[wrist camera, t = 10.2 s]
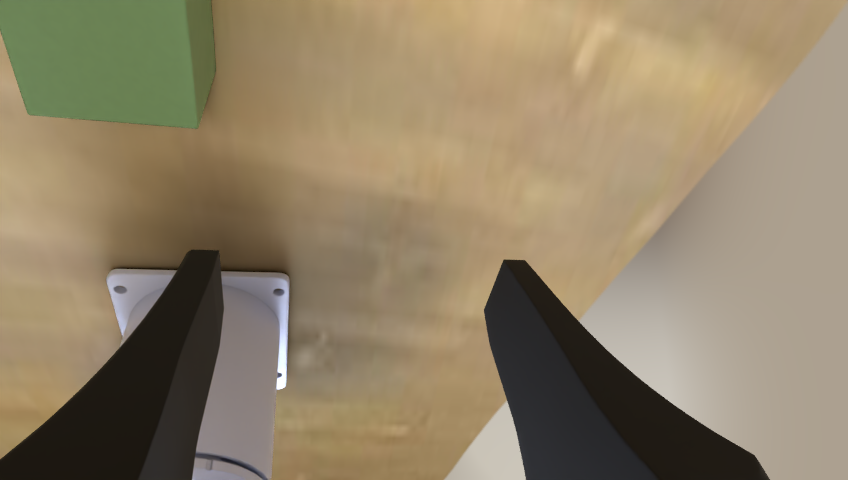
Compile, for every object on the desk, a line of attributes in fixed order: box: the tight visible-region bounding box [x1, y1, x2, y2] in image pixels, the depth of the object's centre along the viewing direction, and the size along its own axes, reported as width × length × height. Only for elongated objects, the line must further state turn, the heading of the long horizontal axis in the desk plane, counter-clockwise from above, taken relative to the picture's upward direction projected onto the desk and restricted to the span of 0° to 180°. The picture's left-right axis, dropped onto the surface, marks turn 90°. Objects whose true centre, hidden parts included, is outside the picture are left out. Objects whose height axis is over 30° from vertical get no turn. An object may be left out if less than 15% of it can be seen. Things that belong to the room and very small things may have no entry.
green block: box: [0, 0, 216, 129], centre depth 15 cm, size 4×4×4 cm
